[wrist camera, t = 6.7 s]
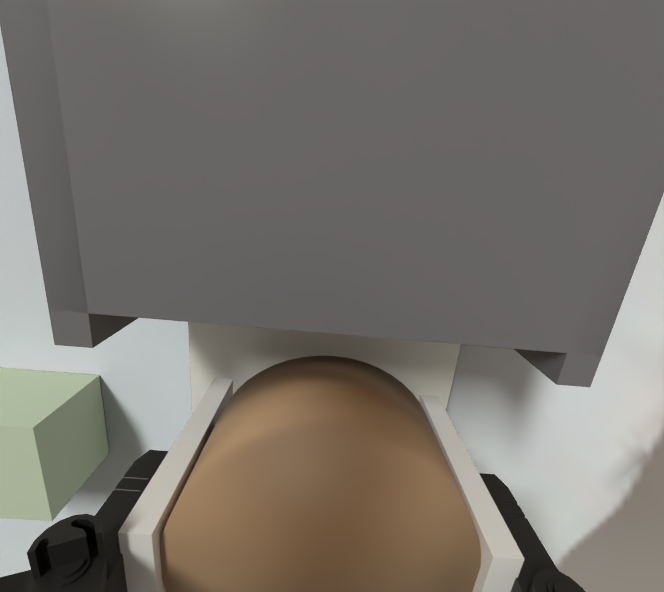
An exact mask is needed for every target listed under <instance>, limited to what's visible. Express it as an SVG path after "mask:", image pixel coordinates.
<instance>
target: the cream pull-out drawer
mask: <svg viewBox="0 0 664 592" xmlns="http://www.w3.org/2000/svg"><path fill="white" fill-rule="evenodd" d="M188 325H189V353H190V380H191V407H192V414H193V412H194V410H195V409H196V407H197V406H198V404H199V402H200V401H201V399H202V398H203V396H204V394H205V393H206V391H207V390H208V388H209V387H210V385H211V383H212V382H213V380H214V379H215V378H222V379H233V394H234V393H235V392H236V390H237V389H238V388H239V387H241V386H242V385H243V384H244V383H245V382H246V381H247V380H249V379H250V378H252V377H253V376H255V375H256V374H258V373H259V372H261V371H263V370H265V369H267V368H269V367H271V366H273V365H276V364H278V363H281V362H284V361H287V360H291V359H296V358H301V357H308V356H338V357H345V358H351V359H355V360H359V361H362V362H366V363H368V364H371V365H373V366H375V367H378V368H380V369H382V370H384V371H385V372H387V373H389V374H391V375H392V376H394V377H395V378H396V379H398V380H399V381H400V382H402V383H403V384H404V385H405V386H406V387H407V388H408V389H409V390H410V391H411V392H412V393H413V394H414V396H415V397H416V398H417V400H418V401H419V400H420V395H431V396H438V397H439V399H440V401H441V403H442V405H443V406H444V408H445V410H446V407H447V403H448V399H449V395H450V390H451V386H452V382H453V377H454V373H455V369H456V365H457V360H458V356H459V352H460V348H461V344H451V343H439V342H427V341H415V340H403V339H391V338H379V337H367V336H355V335H343V334H331V333H319V332H307V331H295V330H283V329H271V328H259V327H247V326H235V325H223V324H211V323H199V322H188Z"/></svg>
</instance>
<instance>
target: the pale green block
mask: <svg viewBox="0 0 664 592" xmlns="http://www.w3.org/2000/svg"><path fill="white" fill-rule="evenodd" d="M108 454H109V448H108V440H107V432H106V425H105V417H104V409H103V402H102V394H101V386H100V379H99V375H89V374H75V373H62V372H49V371H36V370H23V369H10V368H0V518H10V519H27V520H45V521H53V519H54V518H55V517H56V516H57V515H58V513H59V512H60V511H61V510H62V509H63V508H64V506H65V505H66V504H67V503H68V502H69V500H70V499H71V498H72V497H73V496H74V494H75V493H76V492H77V491H78V490H79V489H80V487H81V486H82V485H83V484H84V483H85V481H86V480H87V479H88V478H89V477H90V475H91V474H92V473H93V472H94V471H95V470H96V468H97V467H98V466H99V465H100V464H101V462H102V461H103V460H104V459H105V458H106V456H107V455H108Z"/></svg>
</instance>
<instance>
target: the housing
mask: <svg viewBox="0 0 664 592" xmlns="http://www.w3.org/2000/svg"><path fill="white" fill-rule="evenodd" d="M0 26H1V32H2V37H3V43H4V49H5V55H6V61H7V67H8V73H9V79H10V84H11V90H12V96H13V102H14V108H15V114H16V120H17V126H18V131H19V137H20V143H21V149H22V155H23V161H24V167H25V173H26V179H27V184H28V190H29V196H30V202H31V208H32V214H33V220H34V226H35V231H36V237H37V243H38V249H39V255H40V261H41V267H42V273H43V278H44V284H45V290H46V296H47V302H48V308H49V314H50V320H51V326H52V331H53V337H54V343H55V345H64V346H76V347H89V348H93V347H95V346H96V345H98V344H99V343H101V342H102V341H104V340H105V339H107V338H108V337H110V336H112V335H113V334H115V333H116V332H118V331H119V330H121V329H122V328H124V327H125V326H127V325H128V324H130V323H131V322H133V321H134V320H136V319H137V318H151V319H163V320H175V321H187V322H199V323H211V324H223V325H235V326H247V327H259V328H271V329H283V330H295V331H307V332H319V333H331V334H343V335H355V336H367V337H379V338H391V339H403V340H415V341H427V342H439V343H451V344H463V345H475V346H487V347H499V348H511V349H515V350H516V351H517V352H518V353H519V354H521V355H522V356H523V357H524V358H525V359H527V360H528V361H529V362H530V363H531V364H533V365H534V366H535V367H536V368H537V369H539V370H540V371H541V372H542V373H543V374H545V375H546V376H547V377H548V378H549V379H551V380H552V381H553V382H554V383H555V384H557V385H569V386H582V387H590V386H591V383H592V381H593V378H594V375H595V373H596V370H597V368H598V365H599V362H600V360H601V357H602V354H603V352H604V349H605V346H606V344H607V341H608V338H609V336H610V333H611V330H612V328H613V325H614V323H615V320H616V317H617V315H618V312H619V309H620V307H621V304H622V301H623V299H624V296H625V293H626V291H627V288H628V285H629V283H630V280H631V278H632V275H633V272H634V270H635V267H636V264H637V262H638V259H639V256H640V254H641V251H642V248H643V246H644V243H645V241H646V238H647V235H648V233H649V230H650V227H651V225H652V222H653V219H654V217H655V214H656V211H657V209H658V206H659V203H660V201H661V198H662V196H663V193H664V0H0Z"/></svg>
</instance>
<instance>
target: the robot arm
mask: <svg viewBox="0 0 664 592" xmlns="http://www.w3.org/2000/svg"><path fill="white" fill-rule="evenodd" d="M232 395H233V379H222V378H215V379H214V380H213V382H212V383H211V385H210V387H209V388H208V390H207V391H206V393H205V394H204V396H203V398H202V399H201V401H200V402H199V404H198V406H197V407H196V409H195V410H194V412H193V414H192V415H191V417H190V418H189V420H188V422H187V423H186V425H185V426H184V428H183V430H182V431H181V433H180V434H179V436H178V437H177V439H176V441H175V442H174V444H173V445H172V447H171V449H170V450H169V451H157V450H149V451H148V452H147V453H145V454H144V455H143V456H141V457H140V458H139V459H137V460H136V461H135V462H134V463H133V465H132V466H131V467H130V469H129V470H128V471H127V473H126V474H125V476H124V478H123V479H122V480H121V481H120V482H119V484H118V485H117V487H116V488H115V491H113V492H112V493H111V495H110V496H109V497H108V499H107V500H106V502H105V503H104V504H103V506H102V507H101V508H100V510H99V511H98V512H97V514H96V515H95V516H92V515H89V514H82V515H74V516H71V517H68V518H66V519H63V520H61V521H59V522H57V523H56V524H54V525H52V526H51V527H49V528H48V529H46V530H45V531H44V532H43V533H42V534H41V535H40V536H39V537H38V538H37V539H36V540H35V541H34V542H33V544H32V545H31V547H30V549H29V550H28V552H27V555H28V559H29V563H30V567H31V570H28V571H25V572H21V573H17V574H13V575H9V576H5V577H1V578H0V592H166V589H165V587H164V584H163V581H162V571H161V559H160V543H161V538H162V534H163V531H164V529H165V526H166V524H167V521H168V519H169V517H170V515H171V513H172V511H173V509H174V507H175V505H176V503H177V501H178V499H179V496H180V494H181V492H182V490H183V488H184V486H185V484H186V482H187V480H188V478H189V476H190V474H191V472H192V470H193V468H194V466H195V464H196V462H197V460H198V458H199V456H200V454H201V452H202V450H203V448H204V446H205V444H206V442H207V440H208V438H209V436H210V434H211V432H212V430H213V428H214V426H215V424H216V422H217V420H218V418H219V416H220V414H221V412H222V410H223V408H224V407H225V405H226V403H227V402H228V400H229V399H230V398H231V396H232ZM419 402H420V404H421V406H422V408H423V409H424V411H425V413H426V415H427V417H428V420H429V422H430V424H431V426H432V429H433V431H434V433H435V436H436V438H437V440H438V442H439V445H440V447H441V449H442V452H443V454H444V456H445V458H446V461H447V463H448V465H449V468H450V470H451V472H452V474H453V477H454V479H455V481H456V484H457V486H458V488H459V491H460V493H461V495H462V497H463V500H464V502H465V504H466V507H467V509H468V511H469V513H470V516H471V518H472V520H473V523H474V525H475V528H476V531H477V534H478V537H479V541H480V549H481V567H480V570H479V573H478V576H477V579H476V582H475V585H474V588H473V592H585V591H584V590H583V588H582V587H580V586H579V585H578V584H577V583H576V582H575V581H573V580H572V579H571V578H570V577H568V576H566V575H564V574H562V573H561V572H559V571H558V569H557V568H556V566H555V565H554V563H553V561H552V560H551V558H550V556H549V555H548V553H547V551H546V550H545V548H544V546H543V545H542V543H541V541H540V540H539V538H538V536H537V535H536V533H535V531H534V530H533V528H532V527H531V525H530V523H529V522H528V520H527V519H525V515H524V513H523V512H522V510H521V508H520V507H519V506H518V505H517V502H516V500H515V498H514V497H513V495H512V493H511V492H510V490H509V488H508V487H507V486H506V485H505V484H504V483H503V482H502V481H501V480H500V479H499V478H498V477H497V476H496V475H494V474H482V473H479V472H478V470H477V469H476V467H475V465H474V463H473V461H472V459H471V457H470V455H469V454H468V452H467V450H466V448H465V446H464V444H463V442H462V440H461V438H460V437H459V435H458V433H457V431H456V429H455V427H454V425H453V423H452V421H451V420H450V418H449V416H448V414H447V412H446V410H445V408H444V406H443V405H442V403H441V401H440V399H439V397H438V396H431V395H420V400H419Z"/></svg>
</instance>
